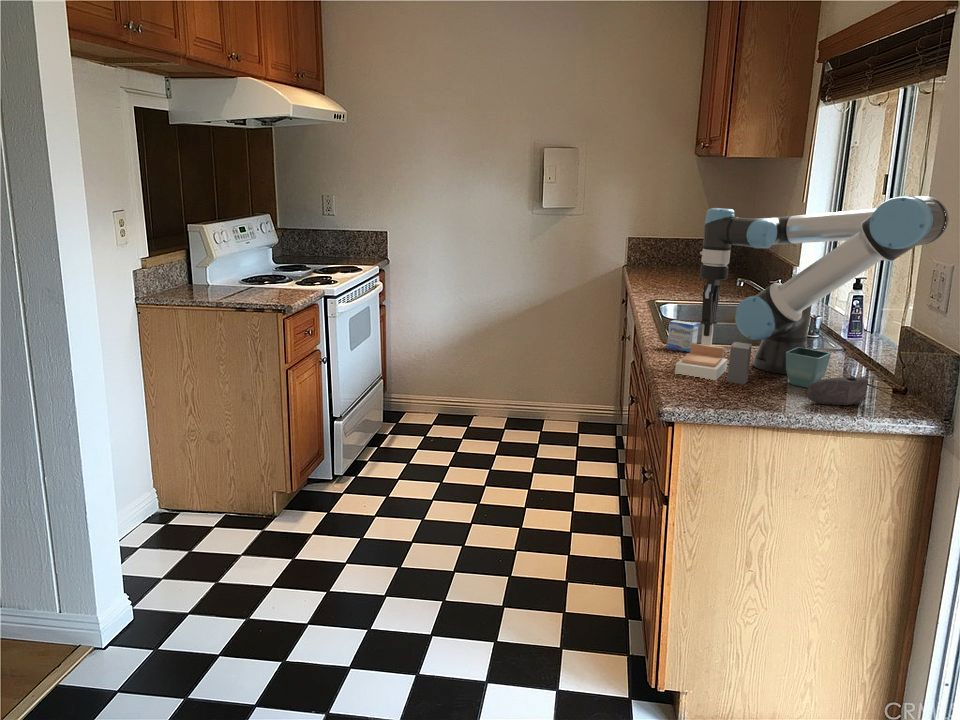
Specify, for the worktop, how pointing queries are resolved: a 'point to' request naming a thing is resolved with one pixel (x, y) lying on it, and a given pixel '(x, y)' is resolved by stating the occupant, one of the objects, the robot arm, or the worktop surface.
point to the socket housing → (701, 369)
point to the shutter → (704, 355)
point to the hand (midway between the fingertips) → (706, 346)
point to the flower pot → (806, 366)
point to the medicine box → (682, 335)
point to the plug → (739, 362)
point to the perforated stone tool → (838, 391)
